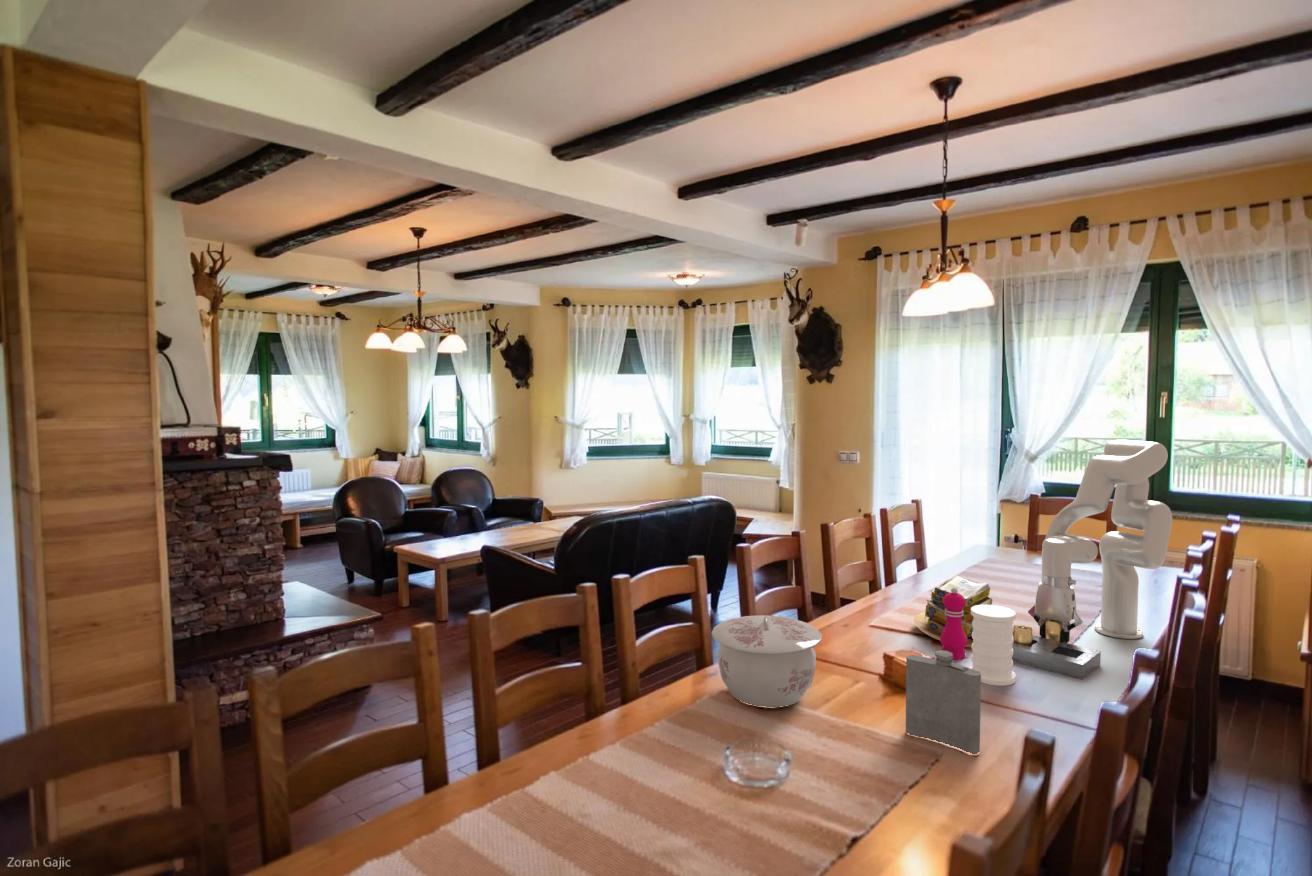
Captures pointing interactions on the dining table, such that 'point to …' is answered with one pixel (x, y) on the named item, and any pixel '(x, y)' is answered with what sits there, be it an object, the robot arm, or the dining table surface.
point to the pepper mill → (954, 625)
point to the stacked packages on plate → (935, 609)
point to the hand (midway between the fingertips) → (1054, 640)
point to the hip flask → (943, 701)
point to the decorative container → (993, 644)
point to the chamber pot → (767, 658)
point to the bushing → (1053, 629)
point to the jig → (1053, 654)
